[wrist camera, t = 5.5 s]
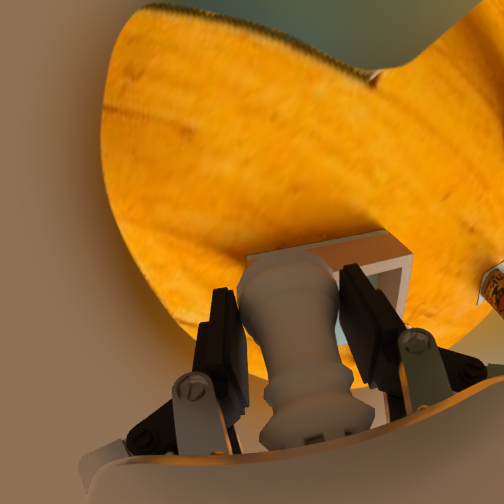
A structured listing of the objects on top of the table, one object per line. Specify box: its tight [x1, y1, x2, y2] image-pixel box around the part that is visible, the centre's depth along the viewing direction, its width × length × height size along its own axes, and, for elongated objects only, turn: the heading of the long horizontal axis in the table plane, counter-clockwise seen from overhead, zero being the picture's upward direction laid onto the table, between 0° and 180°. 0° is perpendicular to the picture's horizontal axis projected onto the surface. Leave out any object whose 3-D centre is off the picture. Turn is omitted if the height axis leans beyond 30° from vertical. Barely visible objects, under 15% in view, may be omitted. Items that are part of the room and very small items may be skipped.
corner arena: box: [246, 229, 413, 346], centre depth 29 cm, size 16×16×6 cm
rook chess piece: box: [237, 250, 375, 451], centre depth 9 cm, size 4×4×8 cm
